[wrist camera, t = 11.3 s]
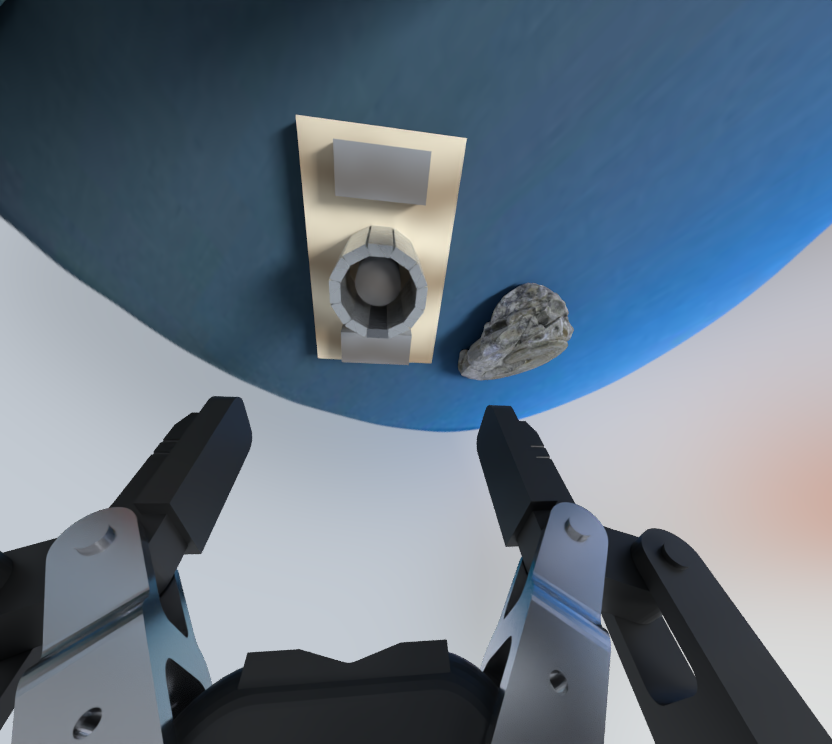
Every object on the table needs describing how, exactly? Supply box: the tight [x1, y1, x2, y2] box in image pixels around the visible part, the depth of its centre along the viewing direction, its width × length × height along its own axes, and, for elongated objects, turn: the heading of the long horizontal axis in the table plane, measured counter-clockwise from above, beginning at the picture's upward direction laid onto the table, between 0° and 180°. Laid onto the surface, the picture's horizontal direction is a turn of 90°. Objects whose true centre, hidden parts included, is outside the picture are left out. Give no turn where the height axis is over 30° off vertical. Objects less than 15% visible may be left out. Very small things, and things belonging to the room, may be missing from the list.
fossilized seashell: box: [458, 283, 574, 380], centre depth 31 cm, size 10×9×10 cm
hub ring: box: [329, 225, 428, 339], centre depth 22 cm, size 6×6×6 cm
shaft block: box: [296, 115, 467, 365], centre depth 24 cm, size 18×11×6 cm, turn 174°
